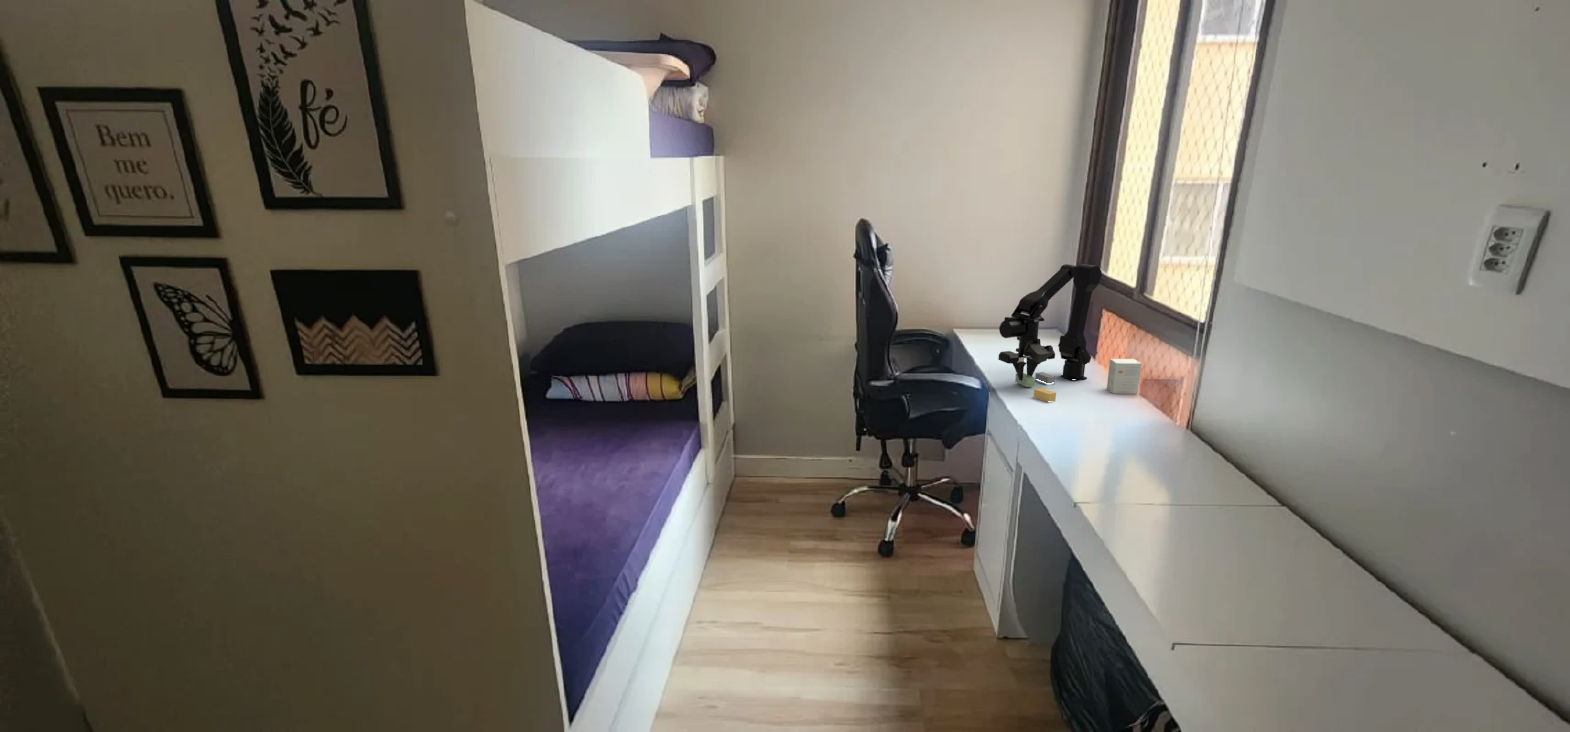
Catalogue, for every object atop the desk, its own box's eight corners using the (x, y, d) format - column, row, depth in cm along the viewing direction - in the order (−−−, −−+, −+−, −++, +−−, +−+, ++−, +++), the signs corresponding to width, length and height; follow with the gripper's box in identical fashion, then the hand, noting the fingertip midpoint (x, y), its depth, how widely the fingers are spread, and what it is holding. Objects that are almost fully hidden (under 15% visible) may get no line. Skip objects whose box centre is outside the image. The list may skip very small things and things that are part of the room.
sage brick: (1015, 382, 232) (1015, 373, 231) (1022, 381, 233) (1023, 372, 232) (1026, 387, 226) (1027, 378, 226) (1033, 386, 227) (1034, 377, 227)
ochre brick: (1033, 398, 218) (1034, 389, 217) (1039, 396, 219) (1040, 387, 219) (1048, 403, 213) (1049, 394, 212) (1055, 401, 214) (1056, 392, 214)
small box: (1131, 389, 225) (1135, 358, 222) (1137, 394, 220) (1142, 363, 217) (1105, 388, 226) (1109, 358, 223) (1112, 393, 221) (1116, 362, 218)
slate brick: (1034, 381, 236) (1035, 372, 235) (1041, 380, 237) (1042, 371, 236) (1047, 385, 230) (1048, 377, 229) (1054, 384, 231) (1054, 376, 231)
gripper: (1020, 342, 215) (1016, 389, 219) (1068, 337, 220) (1063, 383, 225) (999, 335, 225) (995, 380, 229) (1045, 330, 231) (1041, 374, 235)
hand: (1024, 379), depth 229 cm, fingers closed on sage brick, 3 cm apart
